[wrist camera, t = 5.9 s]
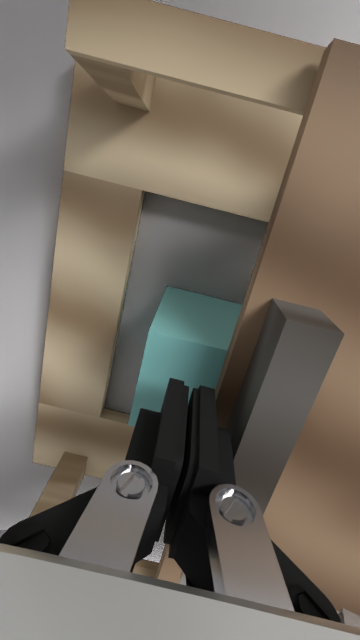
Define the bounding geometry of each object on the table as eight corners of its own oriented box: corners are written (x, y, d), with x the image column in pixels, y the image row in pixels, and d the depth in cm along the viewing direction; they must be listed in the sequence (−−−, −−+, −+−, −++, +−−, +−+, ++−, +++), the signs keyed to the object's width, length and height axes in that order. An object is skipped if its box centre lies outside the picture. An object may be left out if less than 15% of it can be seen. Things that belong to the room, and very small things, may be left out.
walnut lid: (324, 50, 9) (371, -7, 7) (703, 152, 9) (894, 136, 7) (149, 594, 17) (139, 664, 15) (354, 641, 18) (380, 719, 15)
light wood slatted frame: (83, 58, 16) (-5, -41, 9) (623, 200, 17) (912, 204, 10) (38, 452, 24) (-25, 550, 18) (398, 537, 25) (471, 664, 18)
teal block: (166, 285, 20) (148, 331, 13) (242, 304, 20) (261, 359, 13) (151, 353, 21) (127, 424, 15) (221, 371, 21) (228, 449, 15)
